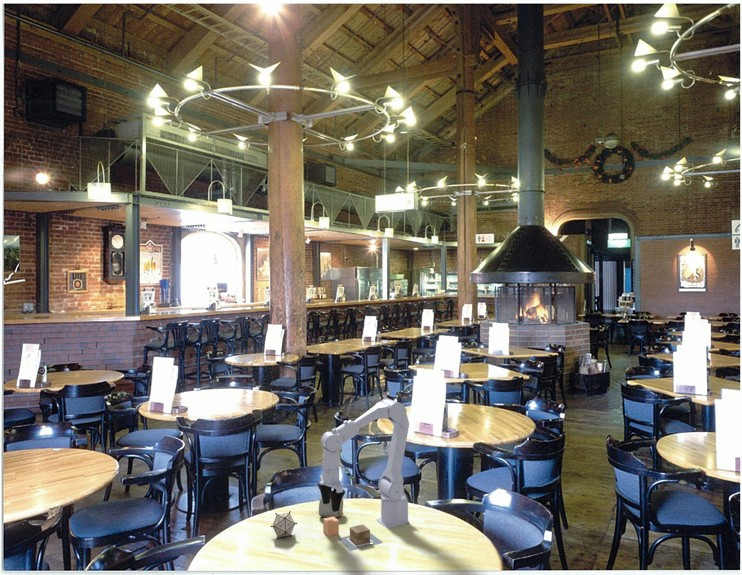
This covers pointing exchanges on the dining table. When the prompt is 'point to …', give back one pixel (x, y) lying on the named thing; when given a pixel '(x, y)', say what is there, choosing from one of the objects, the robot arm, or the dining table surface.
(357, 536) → the walnut block
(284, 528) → the game die
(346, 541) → the mat
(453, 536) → the dining table surface
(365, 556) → the dining table surface
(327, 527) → the terracotta block
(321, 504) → the grey cylinder
